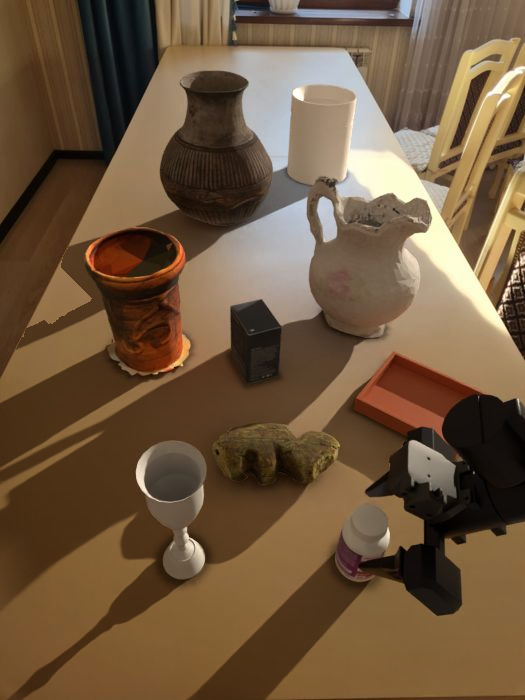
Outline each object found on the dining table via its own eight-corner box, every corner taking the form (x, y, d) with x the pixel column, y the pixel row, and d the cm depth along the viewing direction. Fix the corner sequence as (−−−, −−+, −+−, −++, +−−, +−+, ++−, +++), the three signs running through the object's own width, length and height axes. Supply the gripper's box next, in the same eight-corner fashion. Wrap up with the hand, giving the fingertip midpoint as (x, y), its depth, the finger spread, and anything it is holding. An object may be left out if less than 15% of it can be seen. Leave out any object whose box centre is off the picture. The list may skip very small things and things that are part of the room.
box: (279, 376, 88) (282, 326, 81) (247, 385, 86) (247, 335, 79) (260, 346, 93) (262, 297, 86) (229, 354, 92) (229, 305, 84)
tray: (484, 405, 85) (490, 394, 83) (454, 461, 76) (459, 449, 75) (390, 362, 91) (393, 350, 90) (353, 409, 83) (355, 397, 81)
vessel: (125, 394, 84) (103, 290, 71) (94, 342, 93) (69, 240, 79) (207, 362, 90) (201, 260, 77) (171, 315, 99) (160, 216, 85)
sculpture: (209, 464, 68) (214, 413, 76) (209, 492, 71) (214, 441, 79) (347, 467, 68) (338, 416, 77) (343, 495, 71) (334, 443, 80)
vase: (252, 188, 138) (254, 59, 118) (285, 236, 121) (295, 95, 100) (156, 200, 132) (141, 66, 111) (177, 253, 114) (163, 105, 94)
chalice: (148, 542, 66) (128, 452, 54) (201, 522, 68) (193, 432, 56) (164, 598, 61) (146, 512, 49) (221, 575, 63) (217, 488, 51)
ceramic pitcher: (278, 333, 98) (283, 213, 80) (309, 270, 110) (319, 154, 92) (397, 364, 93) (431, 243, 75) (416, 294, 105) (448, 177, 87)
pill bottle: (358, 593, 62) (372, 552, 56) (325, 559, 65) (335, 517, 59) (388, 564, 65) (405, 521, 58) (355, 532, 68) (367, 489, 61)
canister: (275, 174, 144) (279, 95, 131) (306, 155, 154) (313, 80, 141) (327, 191, 138) (337, 110, 124) (356, 170, 148) (368, 93, 134)
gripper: (450, 373, 55) (329, 423, 64) (459, 540, 41) (304, 573, 50) (504, 436, 59) (384, 475, 68) (529, 607, 45) (374, 627, 54)
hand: (363, 528), depth 60 cm, fingers open, 9 cm apart
